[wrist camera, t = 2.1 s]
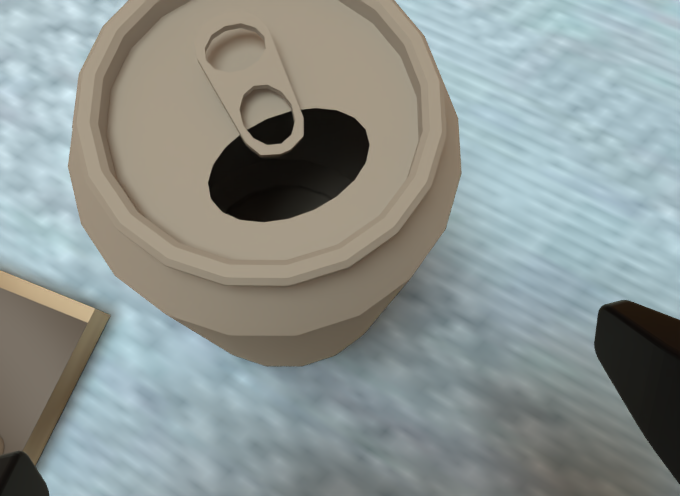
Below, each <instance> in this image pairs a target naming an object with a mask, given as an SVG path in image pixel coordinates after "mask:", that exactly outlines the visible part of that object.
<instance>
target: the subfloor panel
mask: <svg viewBox="0 0 680 496" xmlns="http://www.w3.org/2000/svg"><path fill="white" fill-rule="evenodd" d="M109 317H110V315H109V314H107V313H104V312H102V311H100V310H97V309H95V308H93V307H90V306H88V305H85V304H83V303H80V302H78V301H75V300H73V299H70V298H68V297H65V296H63V295H60V294H58V293H55V292H53V291H50V290H48V289H45V288H43V287H40V286H38V285H35V284H33V283H30V282H28V281H25V280H23V279H21V278H18V277H16V276H13V275H11V274H8V273H6V272H3V271H1V270H0V455H3V454H6V453H10V452H14V451H23V452H25V453H27V455H28V456H29V457H30V459H31V460H32V462H33V464H34V465H36V463H37V461H38V459H39V457H40V455H41V453H42V451H43V449H44V447H45V445H46V443H47V441H48V439H49V437H50V435H51V433H52V431H53V429H54V427H55V425H56V423H57V421H58V419H59V417H60V415H61V413H62V411H63V409H64V407H65V405H66V403H67V401H68V399H69V397H70V395H71V393H72V391H73V389H74V387H75V385H76V383H77V381H78V379H79V377H80V375H81V373H82V371H83V369H84V367H85V365H86V363H87V361H88V359H89V357H90V355H91V353H92V351H93V349H94V347H95V345H96V343H97V341H98V339H99V337H100V335H101V333H102V331H103V329H104V327H105V325H106V323H107V321H108V319H109Z"/></svg>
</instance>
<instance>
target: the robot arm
mask: <svg viewBox="0 0 680 496" xmlns="http://www.w3.org/2000/svg"><path fill="white" fill-rule="evenodd" d="M594 346H595V352H596V355H597V357H598V359H599V361H600V363H601V364H602V366H603V368H604V369H605V371H606V373H607V374H608V376H609V378H610V379H611V381H612V383H613V385H614V386H615V388H616V390H617V391H618V393H619V395H620V396H621V398H622V400H623V401H624V403H625V405H626V406H627V408H628V410H629V412H630V413H631V415H632V417H633V418H634V420H635V422H636V423H637V425H638V427H639V428H640V430H641V431H642V433H643V434H644V436H645V438H646V439H647V441H648V442H649V443H650V445H651V446H652V448H653V449H654V450H655V452H656V453H657V455H658V456H659V457H660V459H661V460H662V461H663V463H664V464H665V465H666V467H667V468H668V469H669V471H670V472H671V473H672V475H673V476H674V477H675V479H676V480H677V482H678V483H679V484H680V320H679V319H676V318H673V317H671V316H668V315H665V314H663V313H660V312H658V311H655V310H652V309H650V308H647V307H645V306H642V305H639V304H637V303H634V302H631V301H628V300H621V301H617V302H613V303H609V304H605V305H603V306H601V308H600V309H599V312H598V318H597V326H596V333H595V341H594ZM0 496H49V491H48V487H47V485H46V483H45V481H44V480H43V478H42V476H41V475H40V473H39V472H38V470H37V468H36V467H35V465H34V464H33V462H32V460H31V459H30V457H29V456H28V455H27V453H25V452H23V451H14V452H10V453H6V454H3V455H0Z"/></svg>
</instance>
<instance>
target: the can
mask: <svg viewBox="0 0 680 496" xmlns="http://www.w3.org/2000/svg"><path fill="white" fill-rule="evenodd" d="M72 129H73V131H72V139H71V147H70V154H69V162H68V169H69V173H70V177H71V182H72V186H73V190H74V195H75V199H76V203H77V208H78V212H79V217H80V221H81V224H82V226H83V228H84V229H85V231H86V232H87V234H88V235H89V237H90V238H91V240H92V241H93V243H94V244H95V246H96V247H97V249H98V251H99V252H100V254H101V255H102V257H103V258H104V260H105V261H106V263H107V264H108V266H109V267H110V269H111V270H112V272H113V273H114V275H115V276H116V277H117V278H119V279H120V280H121V281H123V282H124V283H125V284H127V285H128V286H129V287H131V288H132V289H133V290H135V291H136V292H137V293H138V294H140V295H141V296H142V297H144V298H145V299H146V300H148V301H149V302H150V303H152V304H153V305H154V306H156V307H157V308H158V309H160V310H161V311H162V312H163V313H165V314H166V315H168V316H169V317H171V318H173V319H174V320H176V321H178V322H179V323H181V324H183V325H184V326H186V327H188V328H189V329H191V330H192V331H194V332H196V333H197V334H199V335H201V336H202V337H204V338H206V339H207V340H209V341H211V342H212V343H214V344H215V345H217V346H219V347H220V348H222V349H224V350H225V351H227V352H229V353H230V354H232V355H234V356H237V357H240V358H243V359H246V360H249V361H252V362H255V363H258V364H261V365H264V366H305V365H308V364H311V363H314V362H317V361H320V360H323V359H326V358H329V357H332V356H335V355H337V354H338V353H339V352H341V351H342V350H343V349H345V348H346V347H347V346H349V345H350V344H352V343H353V342H354V341H356V340H357V339H358V338H360V337H361V336H362V335H364V333H365V332H366V331H367V330H368V329H369V327H370V326H371V325H372V324H373V323H374V321H375V320H376V319H377V318H378V317H379V316H380V314H381V313H382V312H383V311H384V310H385V308H386V307H387V306H388V305H389V304H390V302H391V301H392V300H393V299H394V298H395V296H396V295H397V294H398V293H399V292H400V290H401V289H402V288H403V287H404V286H405V284H406V283H407V282H408V281H409V280H410V278H411V277H412V276H413V274H414V273H415V271H416V270H417V269H418V267H419V266H420V264H421V263H422V262H423V260H424V259H425V257H426V256H427V254H428V253H429V252H430V250H431V249H432V247H433V246H434V245H435V243H436V242H437V240H438V239H439V237H440V236H441V235H442V233H443V232H444V230H445V229H446V226H447V222H448V219H449V215H450V212H451V208H452V205H453V201H454V198H455V194H456V191H457V187H458V184H459V180H460V177H461V159H460V142H459V126H458V117H457V114H456V112H455V109H454V107H453V105H452V102H451V100H450V97H449V95H448V92H447V90H446V87H445V85H444V83H443V80H442V78H441V75H440V73H439V70H438V68H437V65H436V63H435V61H434V58H433V56H432V53H431V51H430V48H429V46H428V43H427V41H426V39H425V36H424V35H423V34H422V32H421V31H420V30H419V29H418V28H417V27H416V25H415V24H414V23H413V22H412V21H411V20H410V18H409V17H408V16H407V15H406V14H405V12H404V11H403V10H402V9H401V8H400V7H399V5H398V4H397V3H396V2H395V1H394V0H128V1H127V3H126V4H125V5H124V6H123V7H122V8H121V9H120V10H119V11H118V12H117V13H116V14H115V15H114V16H113V17H112V18H111V19H110V20H109V21H108V22H107V23H106V24H105V25H104V26H103V27H102V29H101V31H100V33H99V35H98V37H97V39H96V41H95V43H94V45H93V47H92V49H91V51H90V53H89V55H88V57H87V59H86V61H85V63H84V65H83V67H82V69H81V71H80V73H79V77H78V85H77V93H76V101H75V109H74V117H73V125H72Z"/></svg>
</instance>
